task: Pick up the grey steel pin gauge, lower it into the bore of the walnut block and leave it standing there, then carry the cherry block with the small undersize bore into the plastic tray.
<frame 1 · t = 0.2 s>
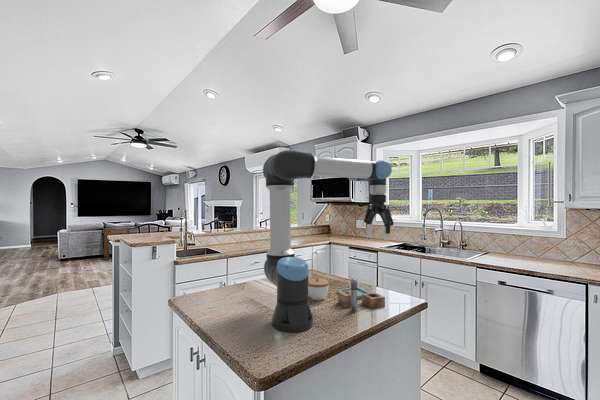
hand: (377, 238, 138), 27 cm above the counter, fingers open, 13 cm apart
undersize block: (347, 304, 128), on the counter
pin gauge: (353, 310, 120), on the counter
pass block: (373, 304, 127), on the counter
lidded jar: (317, 298, 135), on the counter
tray: (354, 294, 140), on the counter
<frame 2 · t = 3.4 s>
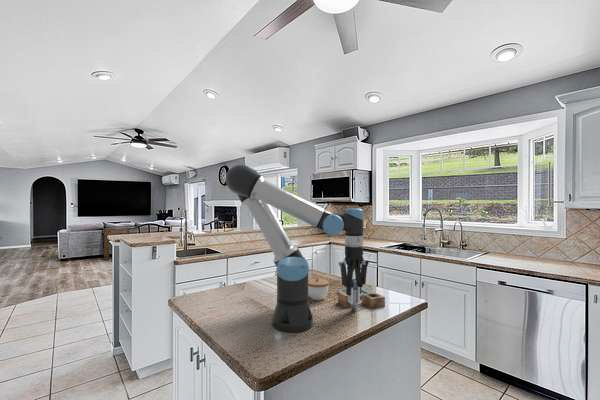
hand: (353, 302, 120), 4 cm above the counter, fingers closed on pin gauge, 2 cm apart
pin gauge: (353, 310, 120), on the counter, touching gripper
everything else where it was.
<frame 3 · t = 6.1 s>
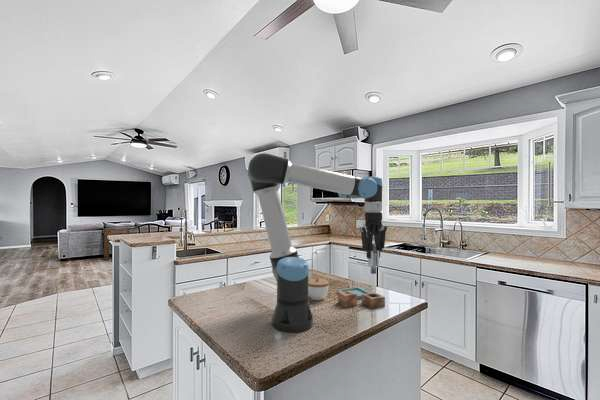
hand: (373, 265, 127), 17 cm above the counter, fingers closed on pin gauge, 2 cm apart
pin gauge: (373, 273, 127), point 14 cm above the counter, touching gripper
everything else where it was.
when the fingers open (5 cm above the counter, at t = 8.9 s): pin gauge drops 2 cm, resting in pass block.
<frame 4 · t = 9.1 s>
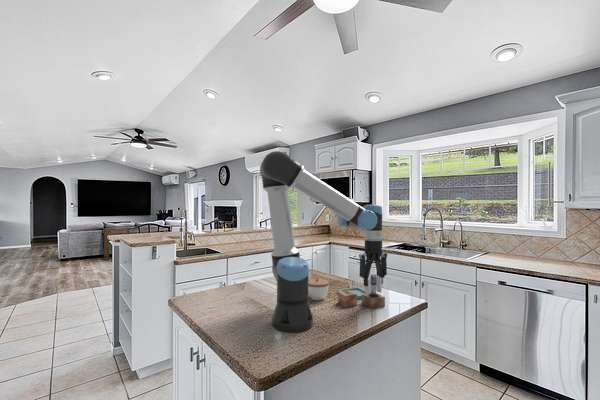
hand: (373, 292, 127), 5 cm above the counter, fingers open, 5 cm apart
pin gauge: (373, 304, 127), resting in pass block
everything else where it was.
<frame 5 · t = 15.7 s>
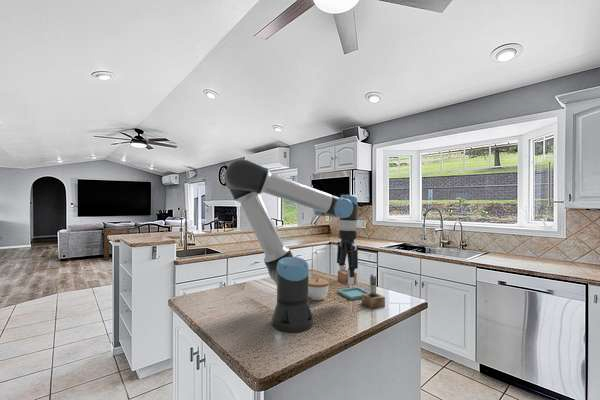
hand: (346, 282, 128), 10 cm above the counter, fingers closed on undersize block, 6 cm apart
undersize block: (346, 283, 128), point 9 cm above the counter, touching gripper
everything else where it was.
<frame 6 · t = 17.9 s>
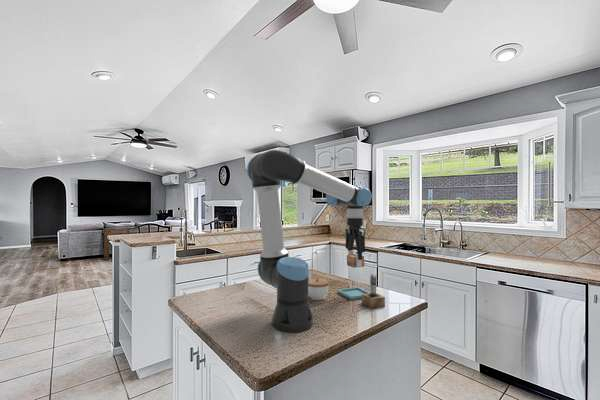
hand: (354, 264, 141), 14 cm above the counter, fingers closed on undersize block, 6 cm apart
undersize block: (355, 265, 141), point 14 cm above the counter, touching gripper
everything else where it was.
when the fingers open (2 cm above the counter, at t = 20.3 s): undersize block stays where it is, resting on tray.
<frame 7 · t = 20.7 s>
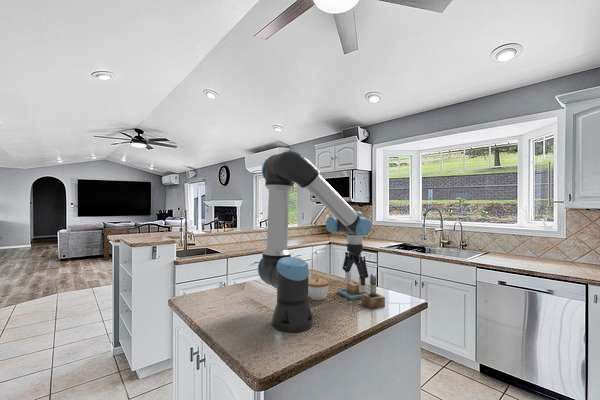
hand: (354, 288, 141), 3 cm above the counter, fingers open, 11 cm apart
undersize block: (355, 293, 141), point 1 cm above the counter, touching tray
everything else where it was.
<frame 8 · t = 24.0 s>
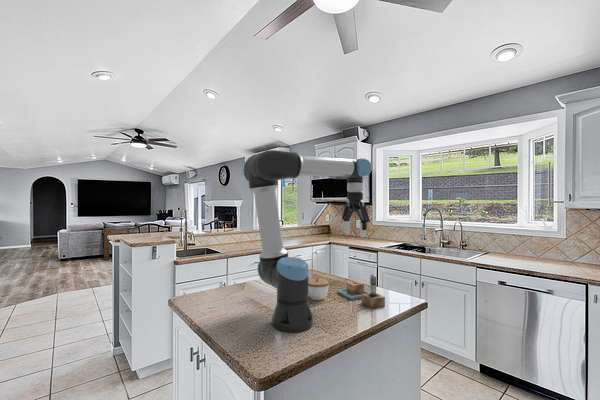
hand: (354, 235, 141), 29 cm above the counter, fingers open, 13 cm apart
nothing on the counter moved.
at the end: pin gauge 0.0 cm off-centre on the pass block, point 0.0 cm above the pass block's base; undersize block inside the target area on the tray (0.3 cm from its centre), point 0.6 cm above the tray's base; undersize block tilted 0° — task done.
